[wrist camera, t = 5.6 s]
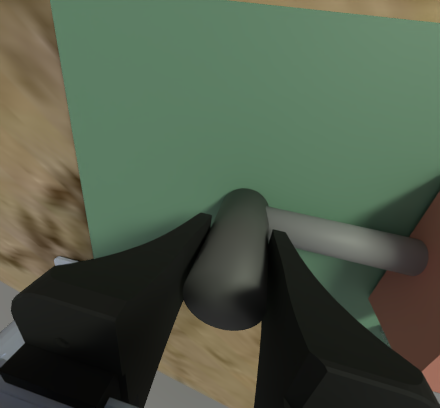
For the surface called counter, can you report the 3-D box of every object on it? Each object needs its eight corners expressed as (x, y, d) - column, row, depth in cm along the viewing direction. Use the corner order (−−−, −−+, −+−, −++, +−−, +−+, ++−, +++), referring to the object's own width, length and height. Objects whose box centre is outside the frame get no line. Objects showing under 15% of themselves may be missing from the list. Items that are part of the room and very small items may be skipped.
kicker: (406, 308, 15) (504, 464, 8) (213, 258, 16) (176, 359, 10) (507, 182, 10) (852, 311, 4) (233, 132, 12) (192, 173, 6)
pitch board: (517, 381, 17) (531, 397, 16) (103, 266, 21) (96, 273, 20) (965, 89, 8) (1056, 88, 7) (63, -11, 12) (46, -19, 11)
